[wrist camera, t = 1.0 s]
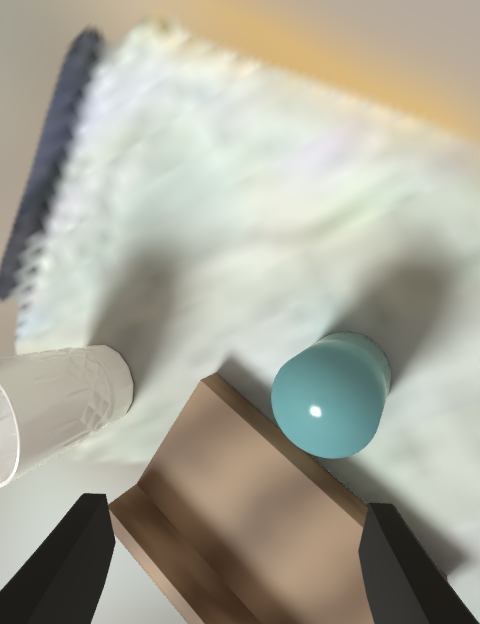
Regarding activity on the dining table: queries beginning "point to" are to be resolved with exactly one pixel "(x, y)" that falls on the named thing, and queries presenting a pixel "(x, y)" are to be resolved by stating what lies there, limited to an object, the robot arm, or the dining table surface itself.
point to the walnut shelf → (243, 521)
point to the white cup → (57, 403)
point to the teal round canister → (332, 395)
